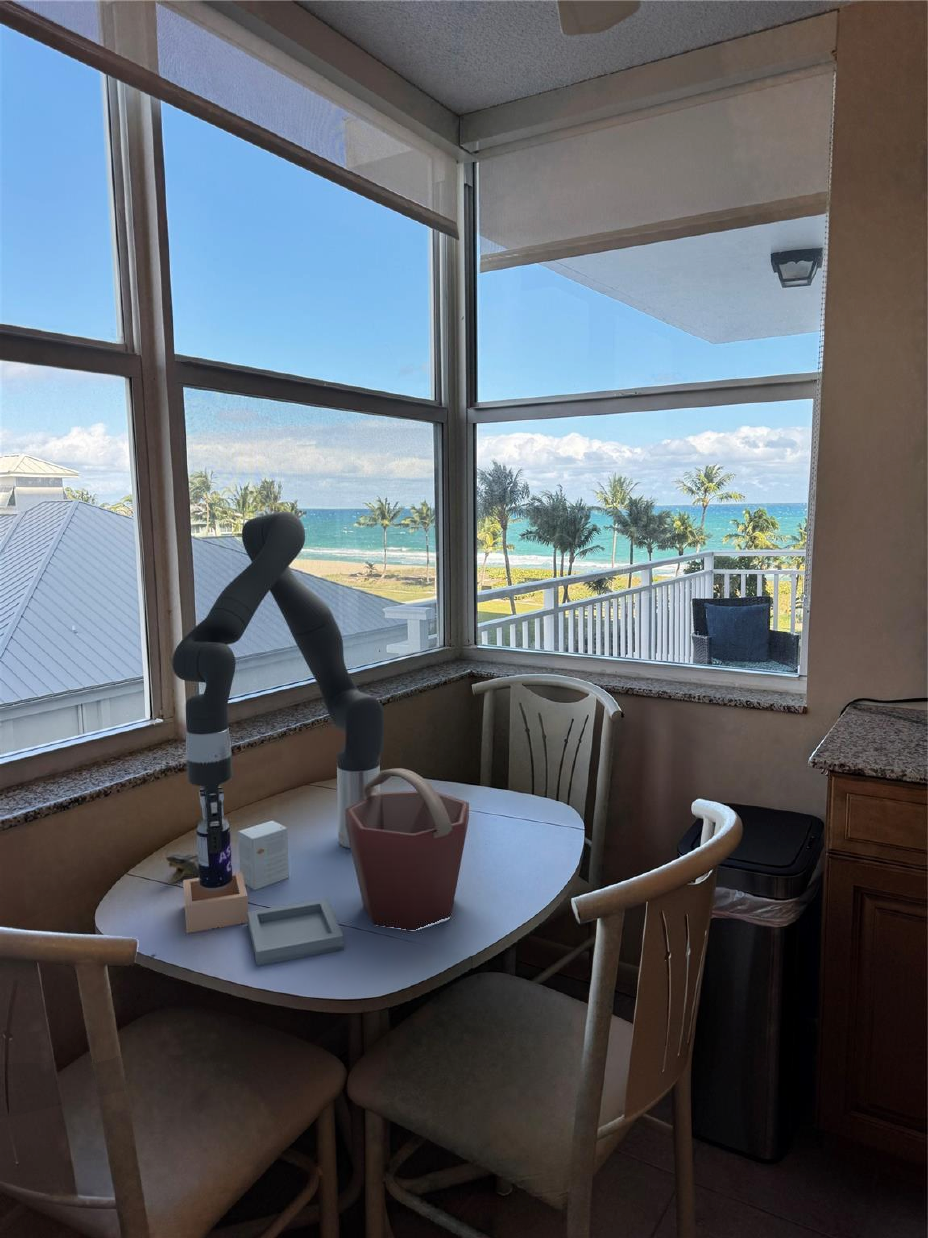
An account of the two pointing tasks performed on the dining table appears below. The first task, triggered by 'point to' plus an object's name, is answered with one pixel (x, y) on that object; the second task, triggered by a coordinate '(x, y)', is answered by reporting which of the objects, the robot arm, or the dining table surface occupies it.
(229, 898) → the peach open bin
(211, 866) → the beverage can
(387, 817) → the bucket
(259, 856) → the small box
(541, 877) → the dining table surface
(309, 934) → the slate tray
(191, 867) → the dinosaur head
